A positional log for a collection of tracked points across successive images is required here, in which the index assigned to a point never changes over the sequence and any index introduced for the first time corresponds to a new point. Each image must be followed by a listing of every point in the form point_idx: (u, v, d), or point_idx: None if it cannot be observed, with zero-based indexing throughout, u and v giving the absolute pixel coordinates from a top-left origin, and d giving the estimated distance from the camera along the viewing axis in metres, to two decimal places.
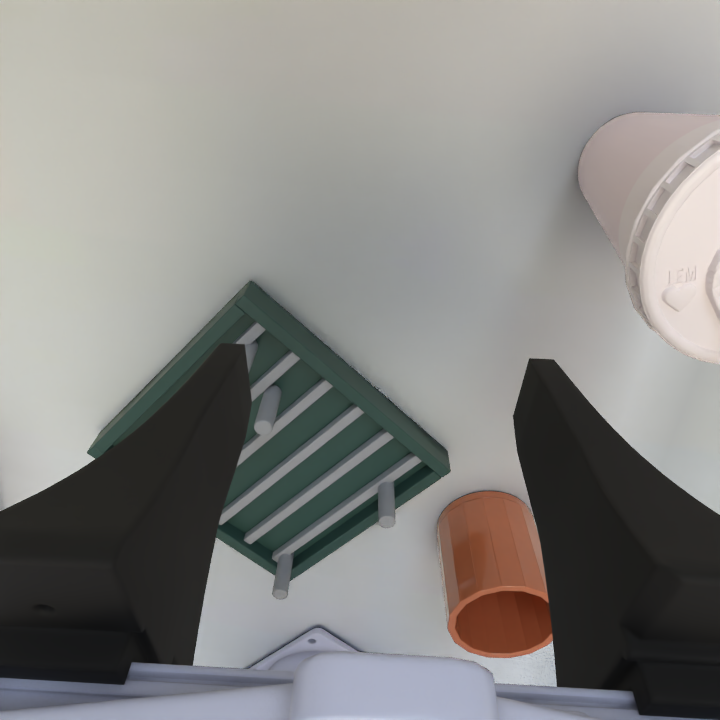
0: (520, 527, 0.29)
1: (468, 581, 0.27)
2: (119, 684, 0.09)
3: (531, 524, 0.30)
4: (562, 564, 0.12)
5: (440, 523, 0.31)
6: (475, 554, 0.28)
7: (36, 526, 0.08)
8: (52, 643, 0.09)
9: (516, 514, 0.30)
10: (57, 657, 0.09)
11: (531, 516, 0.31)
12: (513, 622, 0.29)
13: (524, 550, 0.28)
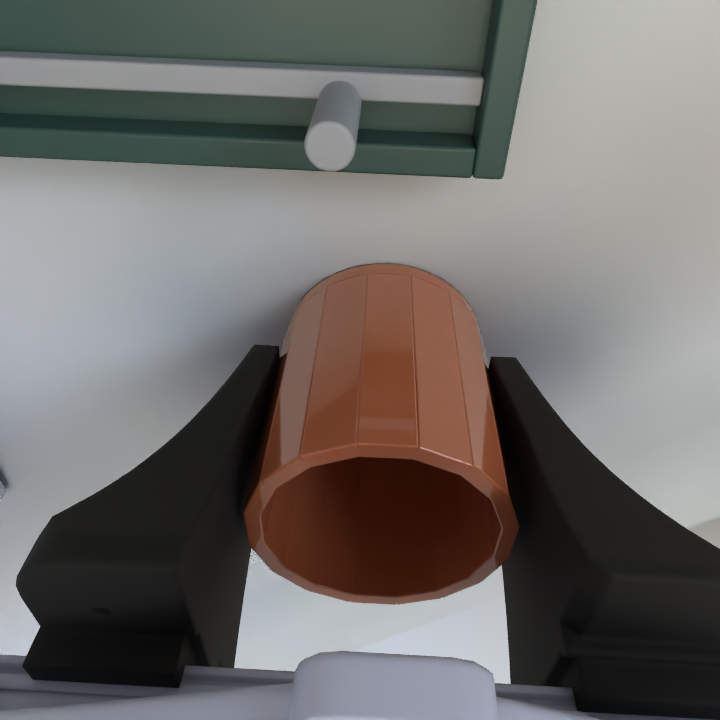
0: (490, 383, 0.14)
1: (395, 413, 0.10)
2: (174, 687, 0.09)
3: None
4: (516, 561, 0.12)
5: (334, 282, 0.14)
6: (422, 371, 0.11)
7: (95, 530, 0.08)
8: (107, 646, 0.09)
9: (485, 358, 0.14)
10: (113, 660, 0.09)
11: None
12: (343, 529, 0.14)
13: (497, 425, 0.12)
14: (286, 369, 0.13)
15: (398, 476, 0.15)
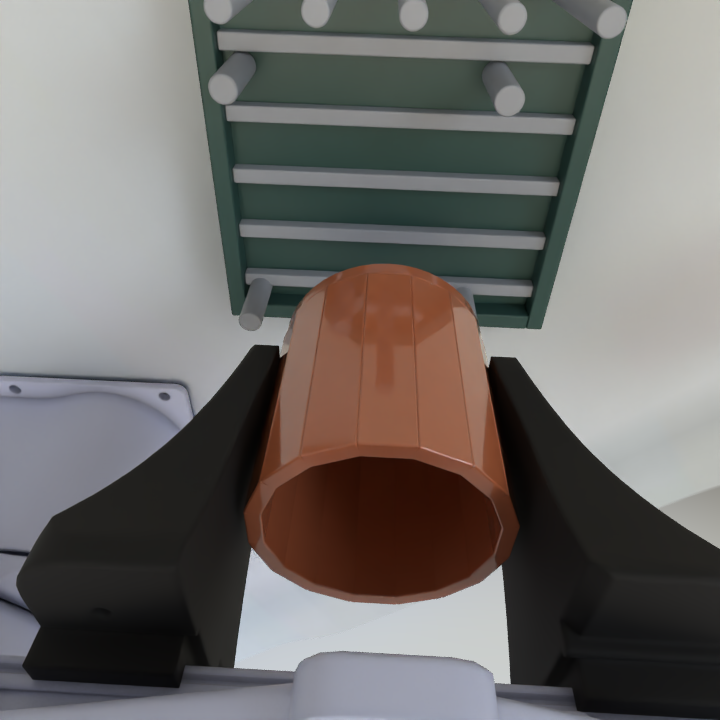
0: (490, 382, 0.14)
1: (395, 412, 0.10)
2: (174, 687, 0.09)
3: None
4: (516, 562, 0.12)
5: (334, 283, 0.14)
6: (422, 371, 0.11)
7: (95, 530, 0.08)
8: (107, 646, 0.09)
9: (485, 358, 0.14)
10: (113, 660, 0.09)
11: None
12: (343, 529, 0.14)
13: (498, 424, 0.12)
14: (286, 369, 0.13)
15: (398, 476, 0.15)
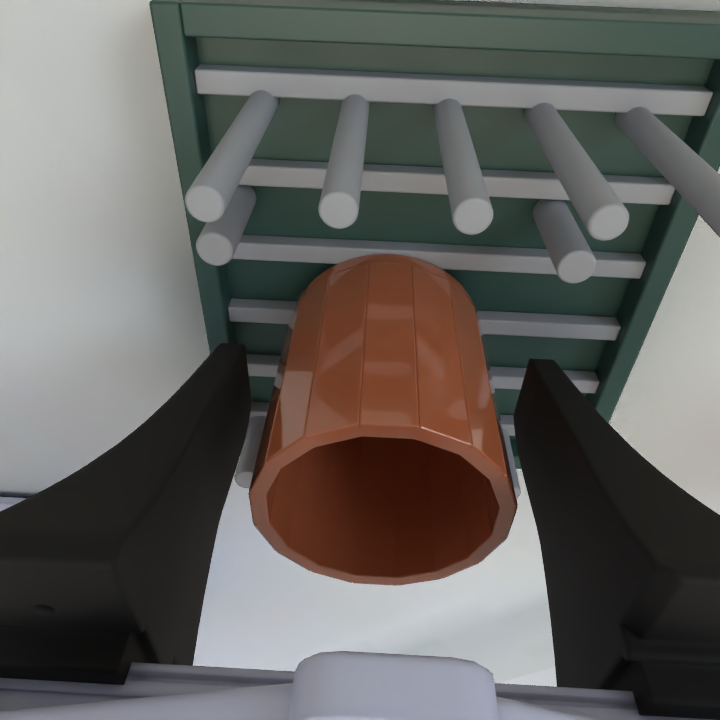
0: (489, 369, 0.14)
1: (396, 395, 0.11)
2: (119, 684, 0.09)
3: None
4: (562, 564, 0.12)
5: (337, 272, 0.14)
6: (423, 356, 0.12)
7: (36, 527, 0.08)
8: (52, 643, 0.09)
9: (484, 346, 0.15)
10: (57, 657, 0.09)
11: None
12: (345, 513, 0.14)
13: (496, 409, 0.13)
14: (290, 355, 0.13)
15: (399, 462, 0.16)
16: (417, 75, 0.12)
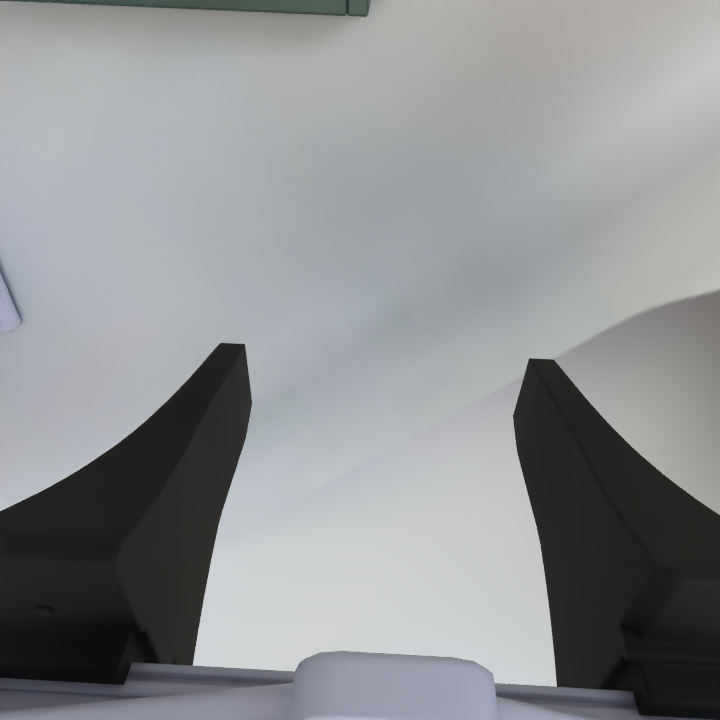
0: None
1: None
2: (119, 684, 0.09)
3: None
4: (562, 564, 0.12)
5: None
6: None
7: (36, 527, 0.08)
8: (52, 643, 0.09)
9: None
10: (57, 657, 0.09)
11: None
12: None
13: None
14: None
15: None
16: None
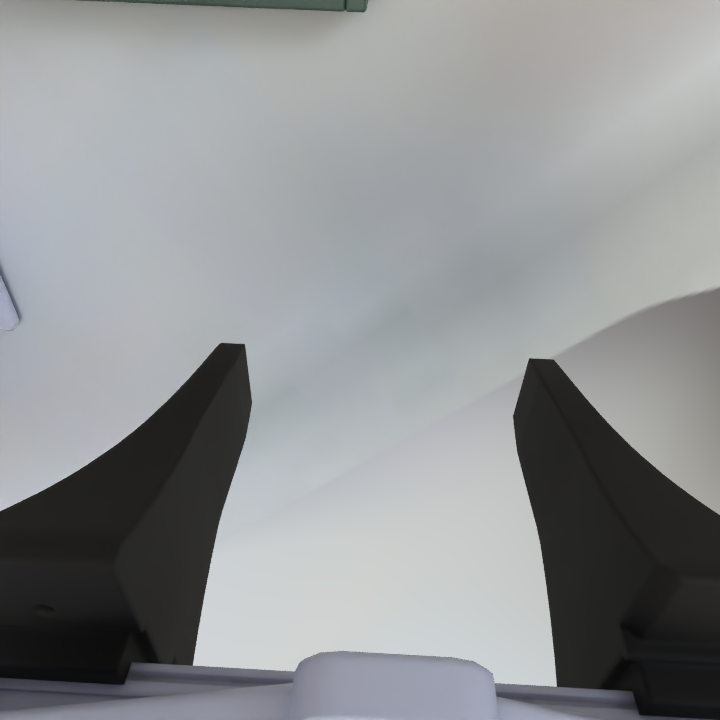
0: None
1: None
2: (119, 684, 0.09)
3: None
4: (562, 564, 0.12)
5: None
6: None
7: (36, 527, 0.08)
8: (52, 643, 0.09)
9: None
10: (57, 657, 0.09)
11: None
12: None
13: None
14: None
15: None
16: None
